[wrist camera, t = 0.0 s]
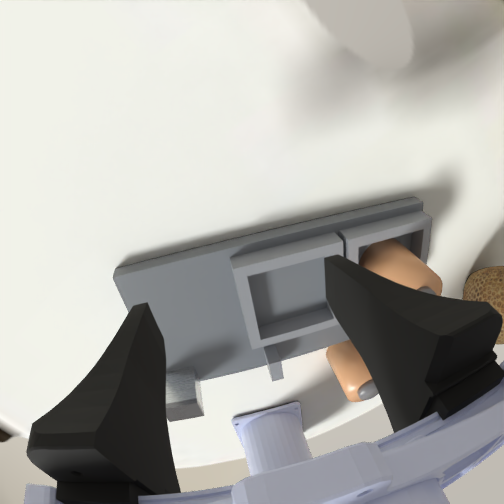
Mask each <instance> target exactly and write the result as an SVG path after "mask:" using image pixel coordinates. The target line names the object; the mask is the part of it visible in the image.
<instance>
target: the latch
mask: <svg viewBox="0 0 504 504" xmlns="http://www.w3.org/2000/svg"><path fill="white" fill-rule="evenodd" d="M200 416H204V410H203V403H202V395H201V387H200V380H199V378H198V375H197V373H196V371H195V369H194V367H193V366H191V367H187V368H182V369H177V370H172V371H167V372H166V417H167V419H168V420H169V421H170V422H172V421H178V420H184V419H189V418H195V417H200Z"/></svg>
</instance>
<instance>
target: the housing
mask: <svg viewBox="0 0 504 504" xmlns="http://www.w3.org/2000/svg"><path fill="white" fill-rule="evenodd" d="M431 223H432V217H430V216H429V215H427V214H426V213H424V212H423V202H422V201H421V200H419V199H417V198H416V197H411V198H407V199H402V200H398V201H393V202H389V203H384V204H380V205H375V206H371V207H366V208H362V209H358V210H353V211H349V212H345V213H340V214H336V215H332V216H327V217H323V218H319V219H314V220H310V221H306V222H302V223H297V224H293V225H289V226H285V227H280V228H276V229H272V230H268V231H264V232H260V233H255V234H251V235H247V236H243V237H239V238H235V239H231V240H227V241H223V242H219V243H214V244H210V245H206V246H202V247H198V248H194V249H190V250H186V251H182V252H178V253H174V254H170V255H166V256H163V257H159V258H155V259H151V260H147V261H143V262H139V263H135V264H131V265H127V266H124V267H120V268H116V269H115V271H114V275H113V280H114V282H115V284H116V286H117V288H118V291H119V293H120V295H121V297H122V299H123V301H124V304H125V306H126V308H127V310H128V312H130V310H131V308H132V307H133V305H138V304H142V303H146V302H148V305H149V307H150V309H151V311H152V314H153V316H154V318H155V320H156V323H157V325H158V327H159V329H160V331H161V333H162V336H163V338H164V343H165V351H166V372H167V371H172V370H177V369H182V368H187V367H191V366H193V367H194V369H195V371H196V373H197V375H198V378H199V380H200V381H203V380H208V379H212V378H216V377H221V376H225V375H229V374H234V373H238V372H242V371H246V370H250V369H253V368H257V367H261V366H265V365H267V366H268V369H269V372H270V375H271V379H272V381H276V380H279V379H283V378H284V377H283V371H282V364H281V361H283V360H286V359H290V358H293V357H297V356H300V355H303V354H307V353H310V352H313V351H316V350H319V349H323V348H326V347H329V346H332V345H335V344H338V343H341V342H344V341H347V340H350V339H349V337H348V336H347V334H346V333H345V331H344V330H343V328H342V327H341V325H340V324H339V322H338V321H337V319H336V318H335V316H334V314H333V312H332V310H331V308H330V306H329V303H328V301H327V299H326V290H325V267H324V258H325V257H329V256H333V255H337V254H339V255H341V256H343V257H345V258H347V259H349V260H351V261H353V262H355V263H357V264H358V265H359V261H360V259H361V256H362V255H363V253H364V252H365V250H366V249H367V248H368V247H369V246H370V245H371V244H372V243H376V242H379V241H383V240H386V239H390V238H394V239H396V240H398V241H399V242H400V243H401V244H402V245H404V246H405V247H406V248H407V249H408V250H409V251H411V252H412V253H413V254H414V255H415V256H416V257H418V258H419V259H420V260H421V261H422V262H423V263H425V264H427V257H428V250H429V242H430V233H431Z"/></svg>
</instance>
